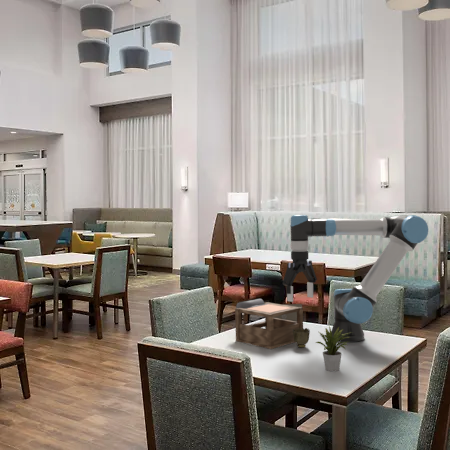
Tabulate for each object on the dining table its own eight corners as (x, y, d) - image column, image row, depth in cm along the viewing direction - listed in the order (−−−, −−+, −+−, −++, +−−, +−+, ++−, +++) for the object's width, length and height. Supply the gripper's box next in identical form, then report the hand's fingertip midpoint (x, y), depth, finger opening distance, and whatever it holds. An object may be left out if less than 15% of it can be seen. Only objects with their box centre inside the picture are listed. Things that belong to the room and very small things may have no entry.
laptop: (298, 324, 291) (298, 299, 291) (302, 330, 279) (302, 304, 278) (264, 325, 291) (263, 300, 290) (266, 331, 278) (265, 305, 278)
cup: (291, 345, 247) (291, 327, 247) (307, 345, 248) (307, 327, 247) (294, 350, 240) (294, 331, 239) (311, 349, 240) (311, 330, 240)
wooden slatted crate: (303, 339, 257) (302, 307, 256) (270, 349, 242) (270, 314, 242) (268, 332, 273) (267, 302, 273) (235, 340, 258) (235, 308, 258)
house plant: (345, 378, 200) (344, 332, 199) (308, 373, 207) (307, 329, 206) (356, 367, 212) (355, 324, 212) (321, 363, 219) (320, 321, 218)
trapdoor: (292, 313, 257) (291, 303, 257) (269, 318, 247) (269, 307, 246) (257, 308, 273) (257, 298, 273) (235, 312, 263) (235, 302, 263)
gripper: (310, 248, 253) (311, 294, 254) (273, 252, 236) (274, 302, 237) (324, 248, 248) (325, 296, 249) (287, 253, 231) (288, 304, 232)
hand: (300, 299), depth 243 cm, fingers open, 13 cm apart
